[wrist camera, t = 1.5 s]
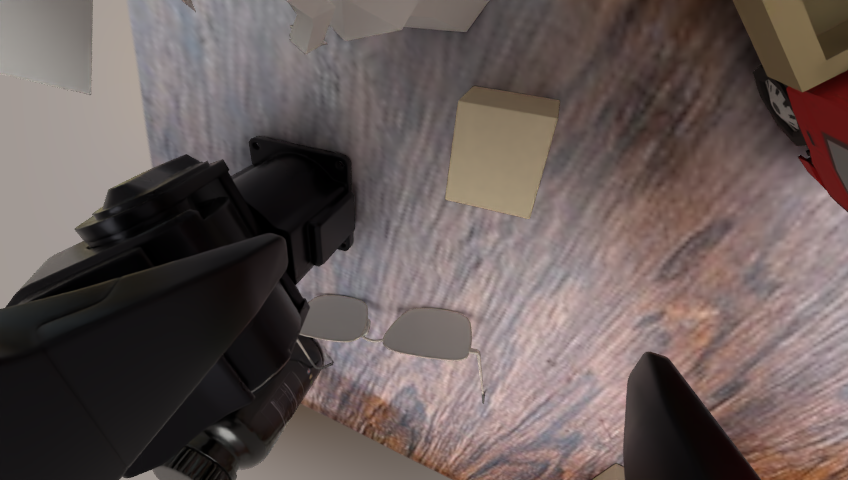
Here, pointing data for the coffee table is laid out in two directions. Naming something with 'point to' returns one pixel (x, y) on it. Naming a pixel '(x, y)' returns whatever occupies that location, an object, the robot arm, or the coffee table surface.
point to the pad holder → (612, 473)
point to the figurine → (313, 3)
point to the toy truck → (805, 79)
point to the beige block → (500, 149)
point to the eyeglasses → (392, 329)
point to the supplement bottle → (247, 425)
